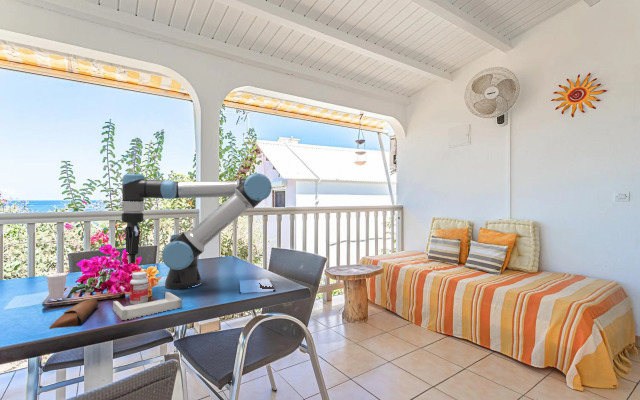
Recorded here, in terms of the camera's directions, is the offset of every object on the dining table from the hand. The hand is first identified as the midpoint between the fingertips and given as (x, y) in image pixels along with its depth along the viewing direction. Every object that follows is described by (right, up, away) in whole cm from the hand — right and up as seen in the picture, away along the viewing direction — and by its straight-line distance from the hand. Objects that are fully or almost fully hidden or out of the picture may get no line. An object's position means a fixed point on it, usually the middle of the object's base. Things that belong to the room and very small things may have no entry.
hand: (131, 271), depth 127 cm
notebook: (+47, -12, +17) cm, 51 cm away
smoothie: (-24, -10, -7) cm, 27 cm away
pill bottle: (+8, -10, -8) cm, 15 cm away
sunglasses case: (-4, -10, -24) cm, 26 cm away
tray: (+15, -10, -15) cm, 24 cm away
